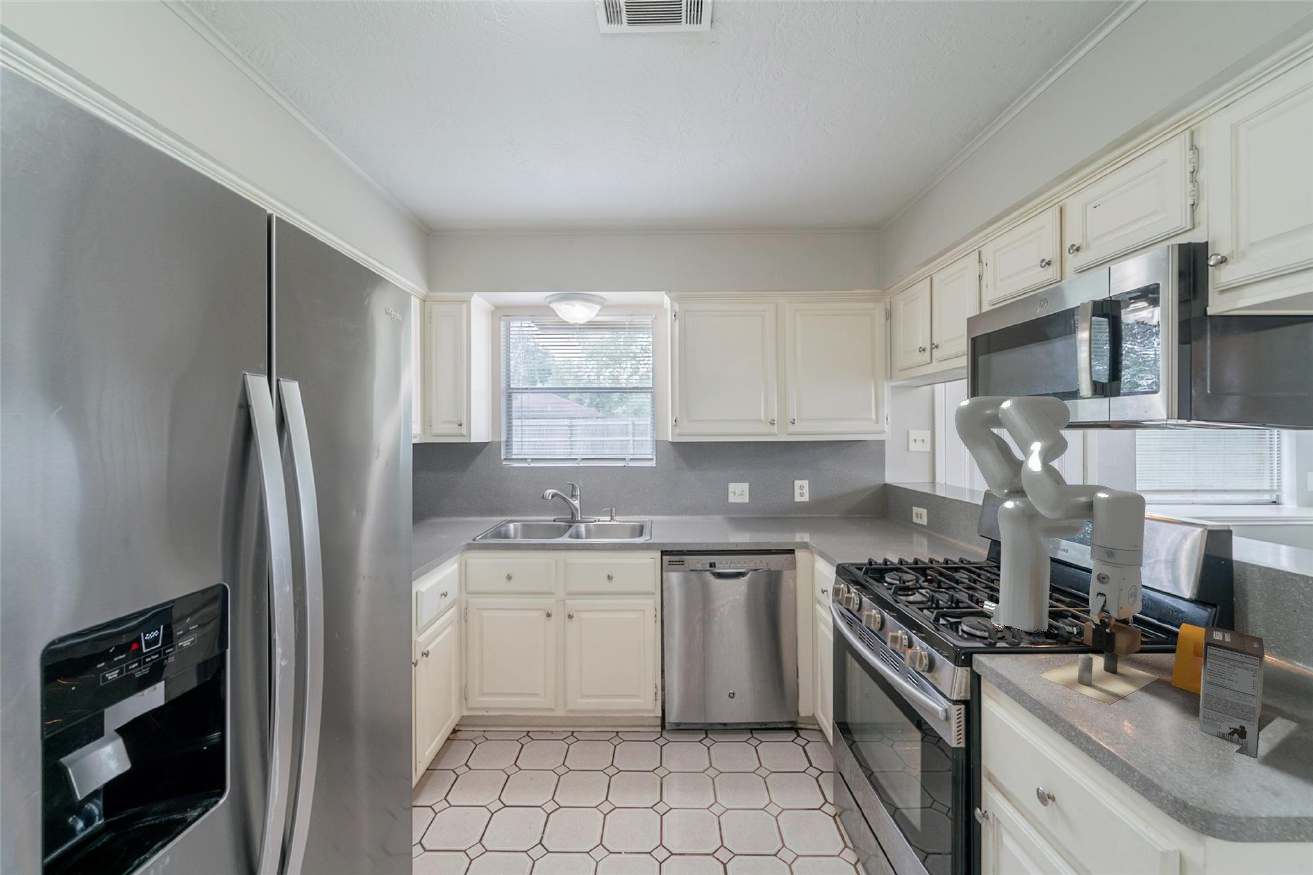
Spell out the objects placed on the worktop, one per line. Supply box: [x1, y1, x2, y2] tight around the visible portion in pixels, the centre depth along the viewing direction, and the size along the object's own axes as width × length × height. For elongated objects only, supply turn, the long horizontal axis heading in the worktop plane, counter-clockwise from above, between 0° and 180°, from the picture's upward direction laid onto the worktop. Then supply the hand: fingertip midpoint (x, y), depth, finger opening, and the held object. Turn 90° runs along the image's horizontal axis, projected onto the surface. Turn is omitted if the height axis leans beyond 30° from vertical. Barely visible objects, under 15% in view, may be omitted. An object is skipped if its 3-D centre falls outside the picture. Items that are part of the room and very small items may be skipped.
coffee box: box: [1198, 625, 1266, 759], centre depth 82 cm, size 9×6×16 cm
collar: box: [1083, 617, 1142, 658], centre depth 100 cm, size 6×6×4 cm
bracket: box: [1170, 622, 1205, 695], centre depth 95 cm, size 11×7×12 cm, turn 123°
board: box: [1038, 651, 1161, 706], centre depth 98 cm, size 11×20×6 cm, turn 118°
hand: (1111, 645), depth 100 cm, fingers closed on collar, 6 cm apart
